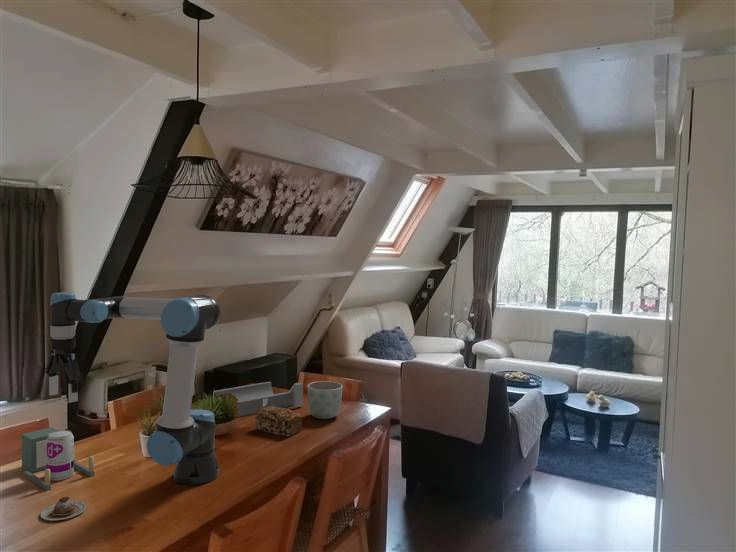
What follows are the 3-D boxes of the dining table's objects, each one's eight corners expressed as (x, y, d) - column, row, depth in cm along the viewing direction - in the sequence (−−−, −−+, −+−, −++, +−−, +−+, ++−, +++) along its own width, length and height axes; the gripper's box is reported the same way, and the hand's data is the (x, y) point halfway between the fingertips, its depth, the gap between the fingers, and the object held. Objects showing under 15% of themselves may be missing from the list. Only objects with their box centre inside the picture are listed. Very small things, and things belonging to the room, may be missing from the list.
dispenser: (94, 475, 188) (94, 441, 188) (46, 491, 175) (46, 454, 175) (59, 456, 203) (59, 425, 203) (12, 469, 191) (12, 436, 190)
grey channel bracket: (268, 394, 298) (269, 372, 297) (302, 408, 274) (303, 384, 274) (213, 405, 276) (213, 380, 275) (245, 421, 252) (245, 394, 251)
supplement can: (61, 482, 182) (61, 439, 181) (40, 480, 183) (40, 436, 183) (79, 473, 190) (79, 431, 189) (58, 470, 191) (58, 428, 191)
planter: (348, 415, 263) (349, 384, 262) (327, 424, 249) (328, 392, 248) (321, 409, 272) (321, 379, 271) (299, 417, 258) (300, 386, 257)
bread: (254, 430, 239) (254, 407, 239) (270, 423, 248) (270, 402, 248) (288, 438, 230) (288, 415, 229) (303, 431, 239) (303, 409, 239)
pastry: (75, 523, 157) (75, 508, 156) (31, 524, 156) (31, 508, 155) (92, 504, 168) (92, 489, 168) (52, 504, 168) (52, 490, 167)
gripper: (92, 340, 182) (92, 402, 183) (56, 332, 197) (57, 389, 198) (70, 343, 176) (70, 407, 177) (34, 334, 190) (34, 393, 191)
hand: (63, 398), depth 187 cm, fingers open, 13 cm apart
